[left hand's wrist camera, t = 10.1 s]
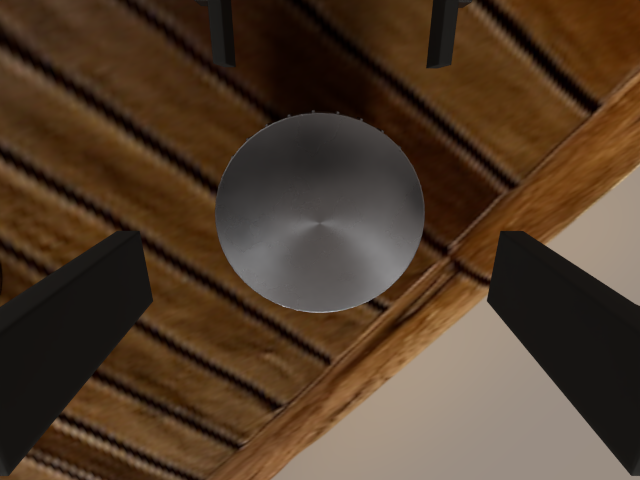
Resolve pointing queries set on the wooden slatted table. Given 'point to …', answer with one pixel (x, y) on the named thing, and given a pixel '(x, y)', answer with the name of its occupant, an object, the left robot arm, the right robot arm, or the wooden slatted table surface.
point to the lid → (319, 212)
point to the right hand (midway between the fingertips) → (331, 66)
